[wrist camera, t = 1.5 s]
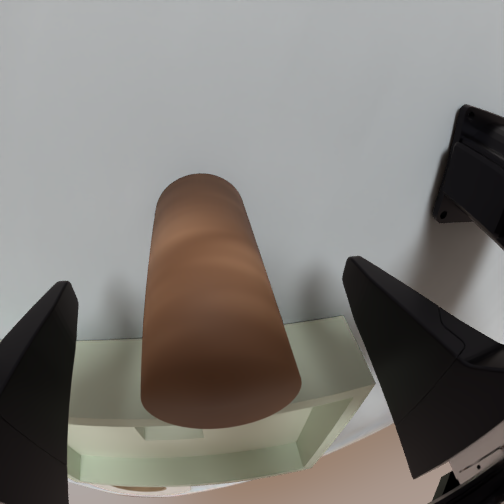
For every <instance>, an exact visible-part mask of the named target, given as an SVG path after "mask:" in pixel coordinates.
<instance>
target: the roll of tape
mask: <svg viewBox="0 0 504 504" xmlns="http://www.w3.org/2000/svg"><path fill="white" fill-rule="evenodd" d="M91 485H93V486H96V487H98V488H101V489H105V490H108V491H113V492H117V493H123V494H131V495H142V496H165V495H175V494H181V493H184V492H187V491H189V490H191V486H183V487H127V486H111V485H99V484H91Z"/></svg>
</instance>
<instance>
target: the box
mask: <svg viewBox="0 0 504 504" xmlns="http://www.w3.org/2000/svg"><path fill="white" fill-rule="evenodd" d="M284 328H285V331H286V334H287V337H288V340H289V343H290V346H291V349H292V352H293V355H294V358H295V361H296V364H297V367H298V370H299V373H300V376H301V381H302V385H301V389H300V391H299V393H298V395H297V396H296V397H295V399H294V400H293V401H292V402H291V403H290V404H288V405H287V406H286V407H284V408H283V409H281V410H280V411H278V412H276V413H275V414H273V415H271V416H269V417H266V418H264V419H261V420H259V421H256V422H252V423H249V424H245V425H241V426H236V427H230V428H221V429H195V428H186V427H181V426H176V425H173V424H169V423H166V422H164V421H161V420H159V419H158V418H156V417H154V416H153V415H151V414H150V413H149V412H148V411H147V410H146V409H145V408H144V406H143V405H142V402H141V397H140V392H141V356H142V338H141V339H121V340H92V341H76V351H75V358H74V366H73V374H72V383H71V393H70V405H69V420H68V444H67V472H68V478H69V479H71V480H73V481H75V482H80V483H89V484H99V485H111V486H127V487H183V486H201V485H213V484H223V483H232V482H240V481H247V480H254V479H260V478H265V477H271V476H277V475H282V474H287V473H292V472H296V471H301V470H305V469H309V468H312V467H313V465H314V464H315V463H316V462H317V461H318V460H319V458H320V457H321V456H322V455H323V454H324V452H325V451H326V450H327V449H328V448H329V446H330V445H331V444H332V443H333V441H334V440H335V439H336V438H337V436H338V435H339V434H340V433H341V431H342V430H343V429H344V427H345V426H346V425H347V423H348V422H349V421H350V419H351V418H352V417H353V415H354V414H355V413H356V411H357V410H358V408H359V407H360V406H361V404H362V403H363V401H364V400H365V398H366V397H367V396H368V394H369V393H370V391H371V390H372V388H373V387H374V385H375V384H376V383H375V381H374V379H373V377H372V374H371V372H370V370H369V368H368V366H367V364H366V362H365V359H364V357H363V355H362V353H361V351H360V349H359V347H358V345H357V343H356V341H355V339H354V336H353V334H352V332H351V330H350V328H349V326H348V324H347V322H346V320H345V318H344V316H338V317H332V318H325V319H319V320H313V321H306V322H299V323H292V324H285V325H284ZM1 341H2V340H0V342H1Z"/></svg>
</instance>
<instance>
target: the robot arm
mask: <svg viewBox="0 0 504 504" xmlns="http://www.w3.org/2000/svg"><path fill="white" fill-rule="evenodd" d="M468 114H469V116H468ZM433 217H434V219H435V220H437V221H438V222H439V223H452V222H474V223H476V224H477V225H478V226H479V227H480V228H481V229H482V230H483V231H484V232H485V233H486V234H487V235H488V236H489V237H490V238H491V239H492V240H494V241H495V242H496V243H497V244H498V245H499V246H500V247H501V248H502V249H503V250H504V117H501V116H499V115H496V114H494V113H491V112H488V111H485V110H482V109H480V108H477V107H474V106H471V105H468V104H465V105H463V106H462V107H461V108H460V111H459V116H458V121H457V125H456V130H455V134H454V139H453V143H452V147H451V151H450V155H449V159H448V163H447V167H446V170H445V174H444V177H443V181H442V184H441V188H440V191H439V194H438V197H437V201H436V204H435V207H434V210H433ZM342 280H343V285H344V288H345V291H346V294H347V298H348V301H349V304H350V307H351V311H352V314H353V317H354V320H355V323H356V325H357V328H358V330H359V333H360V335H361V337H362V340H363V342H364V345H365V347H366V350H367V352H368V355H369V357H370V360H371V362H372V365H373V367H374V370H375V372H376V375H377V378H378V380H379V383H380V385H381V388H382V391H383V393H384V396H385V399H386V401H387V404H388V407H389V410H390V412H391V415H392V418H393V421H394V424H395V426H396V430H397V433H398V435H399V438H400V441H401V444H402V447H403V450H404V453H405V456H406V459H407V462H408V465H409V469H410V472H411V475H412V477H413V479H416V478H418V477H420V476H422V475H424V474H426V473H428V472H430V471H432V470H434V469H436V468H438V467H440V466H441V465H443V464H445V463H447V462H449V463H450V465H451V467H452V470H453V471H451V472H450V473H448V474H446V475H444V476H443V477H441V480H440V482H439V485H438V487H437V490H436V492H435V495H434V497H433V500H432V502H430V503H428V504H504V345H503V344H500V343H498V342H496V341H494V340H493V339H491V338H489V337H487V336H486V335H484V334H482V333H481V332H479V331H477V330H476V329H474V328H472V327H470V326H469V325H467V324H465V323H464V322H462V321H460V320H459V319H457V318H456V317H454V316H453V315H451V314H450V313H448V312H447V311H445V310H444V309H442V308H441V307H438V305H436V304H435V303H433V302H432V301H430V300H429V299H427V298H425V297H424V296H422V295H421V294H419V293H418V292H416V291H415V290H413V289H412V288H410V287H409V286H407V285H405V284H404V283H402V282H401V281H399V280H398V279H396V278H395V277H393V276H391V275H390V274H388V273H387V272H385V271H383V270H382V269H380V268H379V267H377V266H375V265H374V264H372V263H371V262H369V261H367V260H366V259H364V258H362V257H361V256H352V257H349V258H348V259H347V261H346V265H345V268H344V272H343V276H342ZM77 319H78V299H77V297H76V295H75V292H74V290H73V288H72V285H71V283H70V282H69V281H59V282H57V283H56V284H55V285H54V286H53V287H52V288H51V289H50V290H49V291H48V292H47V293H46V294H45V295H44V296H43V297H42V298H41V299H40V300H39V301H38V302H37V303H36V304H35V305H34V306H33V307H32V308H31V309H30V310H29V311H28V312H27V313H26V314H25V315H24V316H23V317H22V319H21V320H20V321H19V322H18V323H17V324H16V325H15V326H14V327H13V328H12V329H11V331H10V332H9V333H8V334H7V335H6V336H5V337H4V338H3V340H2V341H1V342H0V504H69V500H68V472H67V444H68V420H69V405H70V393H71V383H72V374H73V366H74V358H75V351H76V337H77Z"/></svg>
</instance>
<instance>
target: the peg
mask: <svg viewBox="0 0 504 504" xmlns="http://www.w3.org/2000/svg"><path fill="white" fill-rule="evenodd" d="M301 385H302V381H301V376H300V373H299V370H298V367H297V364H296V361H295V358H294V355H293V352H292V349H291V346H290V343H289V340H288V337H287V334H286V331H285V328H284V324H283V321H282V318H281V315H280V312H279V309H278V306H277V303H276V300H275V297H274V294H273V291H272V288H271V285H270V282H269V279H268V276H267V273H266V270H265V267H264V264H263V261H262V258H261V255H260V252H259V249H258V246H257V243H256V240H255V237H254V234H253V231H252V228H251V225H250V222H249V219H248V216H247V213H246V210H245V207H244V204H243V201H242V198H241V196H240V194H239V192H238V191H237V190H236V188H235V187H234V186H233V185H232V184H230V183H229V182H228V181H226V180H224V179H223V178H220V177H218V176H215V175H211V174H191V175H188V176H184V177H182V178H179V179H178V180H176V181H174V182H173V183H171V184H170V185H169V186H168V187H167V188H166V189H165V190H164V191H163V193H162V194H161V196H160V198H159V200H158V202H157V206H156V211H155V218H154V225H153V232H152V240H151V248H150V256H149V265H148V274H147V284H146V295H145V307H144V320H143V336H142V356H141V392H140V397H141V402H142V405H143V406H144V408H145V409H146V410H147V411H148V412H149V413H150V414H151V415H153V416H154V417H156V418H158V419H159V420H161V421H164V422H166V423H169V424H173V425H176V426H181V427H186V428H195V429H221V428H230V427H236V426H241V425H245V424H249V423H252V422H256V421H259V420H261V419H264V418H266V417H269V416H271V415H273V414H275V413H276V412H278V411H280V410H281V409H283V408H284V407H286V406H287V405H288V404H290V403H291V402H292V401H293V400H294V399H295V397H296V396H297V395H298V393H299V391H300V389H301Z"/></svg>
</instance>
